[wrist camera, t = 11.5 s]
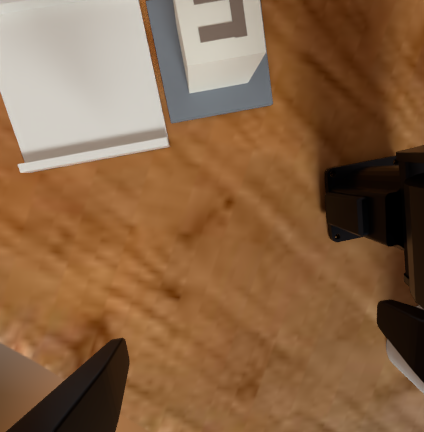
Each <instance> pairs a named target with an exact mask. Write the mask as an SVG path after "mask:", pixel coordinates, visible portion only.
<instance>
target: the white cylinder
mask: <svg viewBox="0 0 424 432" xmlns="http://www.w3.org/2000/svg"><path fill="white" fill-rule="evenodd" d="M416 307H417V308H421V309H423V308H422V307H421V306H420V305H419V306H416ZM386 350H387V354H388V357H389V359H390V361H391V362H392V363H393V364H394V365H395V366H396V367H397V368H398V369H399V370H400V371H401V372H402V373H403V374H404V375H405V376H406V377H407V378H408V379H409V380H410V381H411V382H412V383H413V384H414V385H415V386H416V387H417V388H419V389H420V390H421V391H422V392H423V393H424V383H423V382H422V381H421V380H420V378H419V377H418V376H417V375H416V374H415V373H414V372H413V370H412V369H411V368H410V367H409V366H408V364H407V363H406V362H405V360H404V359H403V358H402V357H401V355H400V354H399V353H398V352H397V350H396V349H395V348H394V346H393V345H392V344H391V343H390V341H389V340H388V339H387V343H386Z"/></svg>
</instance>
